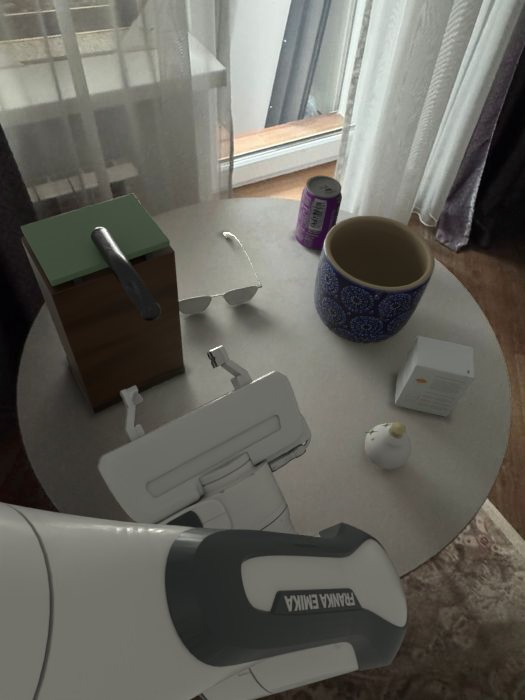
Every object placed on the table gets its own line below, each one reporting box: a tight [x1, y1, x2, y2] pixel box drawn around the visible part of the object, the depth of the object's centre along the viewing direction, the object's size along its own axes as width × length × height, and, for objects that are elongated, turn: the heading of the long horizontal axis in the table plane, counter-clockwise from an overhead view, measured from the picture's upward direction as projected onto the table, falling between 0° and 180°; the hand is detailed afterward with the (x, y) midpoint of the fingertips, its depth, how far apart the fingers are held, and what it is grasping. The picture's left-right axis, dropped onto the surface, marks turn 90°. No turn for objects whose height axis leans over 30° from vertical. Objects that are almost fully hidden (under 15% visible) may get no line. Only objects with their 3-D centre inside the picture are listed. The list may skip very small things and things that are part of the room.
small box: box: [394, 335, 475, 418], centre depth 72 cm, size 8×6×10 cm
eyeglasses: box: [178, 231, 263, 315], centre depth 87 cm, size 15×18×4 cm
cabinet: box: [20, 236, 186, 415], centre depth 66 cm, size 10×14×25 cm
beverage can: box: [294, 175, 343, 250], centre depth 92 cm, size 7×7×12 cm
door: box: [20, 192, 171, 321], centre depth 52 cm, size 20×13×3 cm, turn 33°
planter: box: [313, 215, 436, 344], centre depth 80 cm, size 16×17×15 cm
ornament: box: [364, 421, 412, 470], centre depth 66 cm, size 6×7×10 cm
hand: (172, 367), depth 49 cm, fingers open, 8 cm apart
